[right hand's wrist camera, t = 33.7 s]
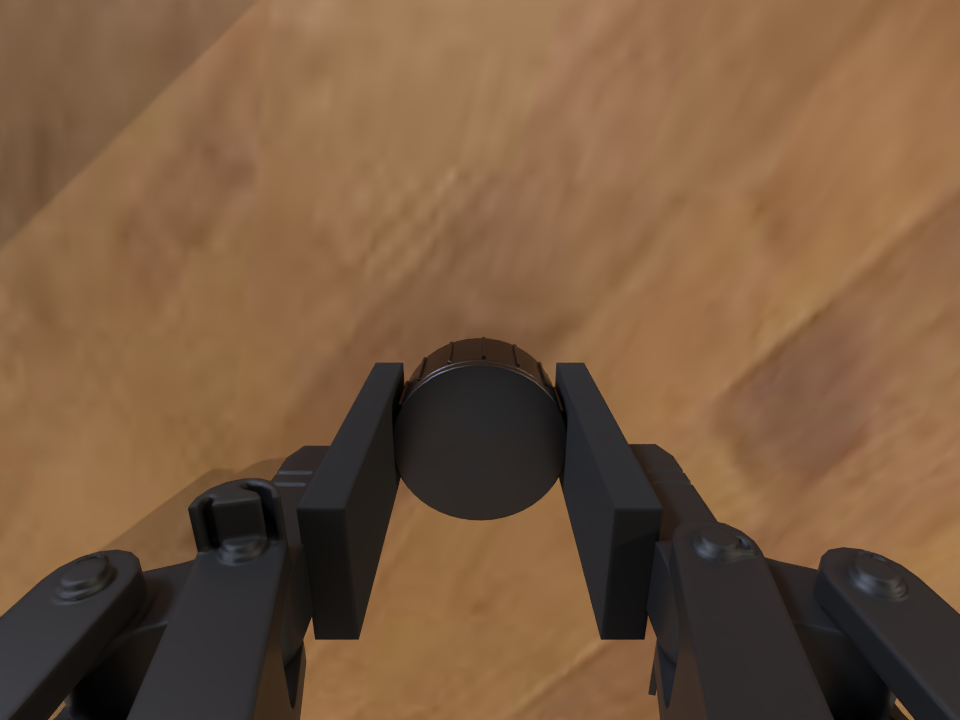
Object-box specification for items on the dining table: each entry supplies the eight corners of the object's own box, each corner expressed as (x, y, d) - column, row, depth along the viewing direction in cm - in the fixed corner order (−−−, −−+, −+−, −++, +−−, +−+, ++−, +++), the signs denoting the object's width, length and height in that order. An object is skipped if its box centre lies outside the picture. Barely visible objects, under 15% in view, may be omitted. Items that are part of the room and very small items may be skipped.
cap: (418, 486, 15) (410, 531, 13) (387, 349, 14) (372, 377, 12) (564, 467, 15) (576, 510, 13) (548, 325, 14) (560, 351, 12)
